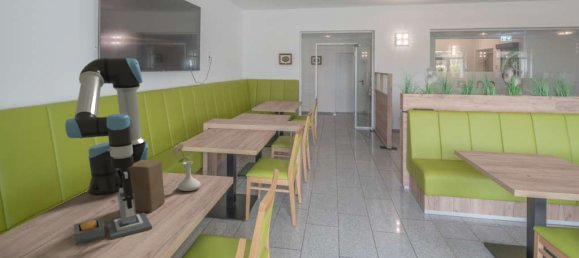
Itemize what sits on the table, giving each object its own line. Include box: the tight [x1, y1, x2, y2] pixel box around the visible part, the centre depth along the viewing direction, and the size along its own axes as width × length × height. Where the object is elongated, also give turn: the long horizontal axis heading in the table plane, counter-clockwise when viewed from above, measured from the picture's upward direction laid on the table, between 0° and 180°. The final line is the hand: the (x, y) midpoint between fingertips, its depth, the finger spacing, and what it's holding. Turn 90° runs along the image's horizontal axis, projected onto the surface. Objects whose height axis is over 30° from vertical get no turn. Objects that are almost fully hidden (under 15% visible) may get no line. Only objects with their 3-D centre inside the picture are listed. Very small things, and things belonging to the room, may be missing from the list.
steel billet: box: [117, 192, 137, 227], centre depth 127 cm, size 5×5×12 cm
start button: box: [80, 219, 97, 231], centre depth 121 cm, size 5×5×3 cm
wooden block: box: [127, 159, 166, 213], centre depth 144 cm, size 10×10×20 cm
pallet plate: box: [106, 212, 153, 240], centre depth 128 cm, size 14×14×2 cm
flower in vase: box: [172, 141, 202, 192], centre depth 164 cm, size 13×11×25 cm
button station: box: [73, 217, 106, 246], centre depth 121 cm, size 9×9×4 cm
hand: (127, 209), depth 127 cm, fingers open, 13 cm apart
